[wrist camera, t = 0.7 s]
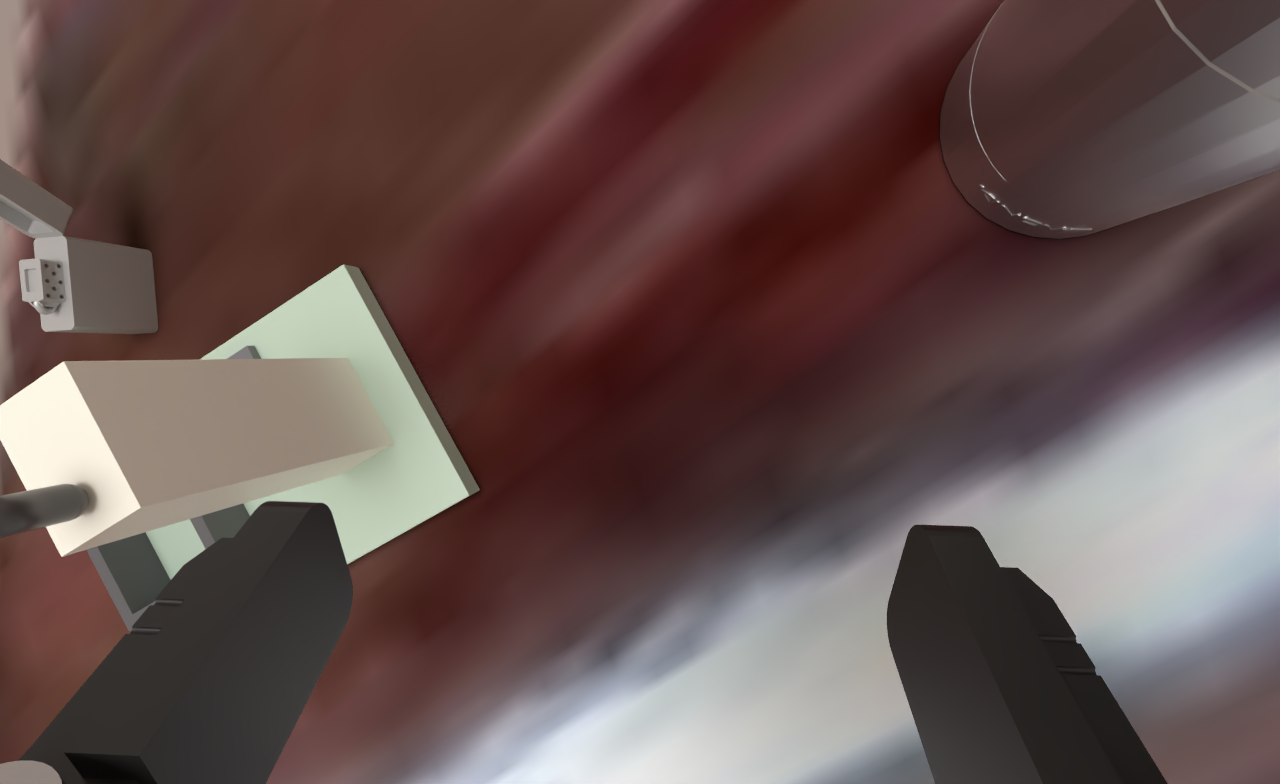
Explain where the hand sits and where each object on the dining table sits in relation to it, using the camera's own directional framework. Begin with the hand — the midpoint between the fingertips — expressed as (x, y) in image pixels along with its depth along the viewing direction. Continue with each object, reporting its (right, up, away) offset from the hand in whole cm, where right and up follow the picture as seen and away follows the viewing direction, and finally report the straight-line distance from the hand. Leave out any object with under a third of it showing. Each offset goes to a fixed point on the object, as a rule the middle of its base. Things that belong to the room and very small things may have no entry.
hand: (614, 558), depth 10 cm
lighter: (-25, +9, +25) cm, 36 cm away
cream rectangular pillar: (-13, +1, +22) cm, 25 cm away
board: (-18, -1, +24) cm, 30 cm away
